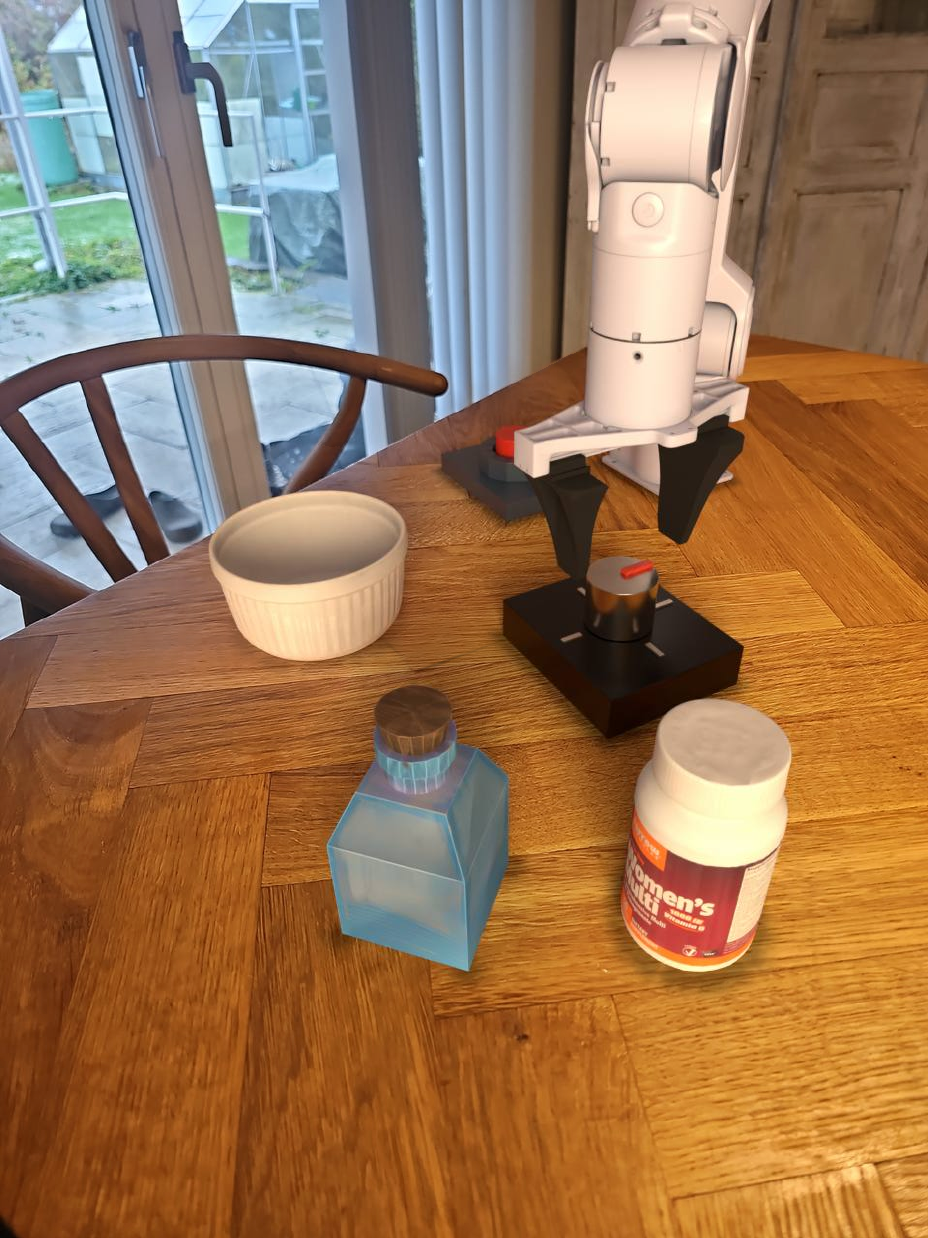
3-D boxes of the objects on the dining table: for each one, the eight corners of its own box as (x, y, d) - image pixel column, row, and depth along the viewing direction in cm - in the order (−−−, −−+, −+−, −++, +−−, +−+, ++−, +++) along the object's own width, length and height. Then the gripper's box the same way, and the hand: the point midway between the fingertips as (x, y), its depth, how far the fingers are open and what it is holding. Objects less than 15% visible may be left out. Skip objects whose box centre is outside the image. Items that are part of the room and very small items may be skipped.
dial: (611, 649, 51) (616, 597, 49) (569, 614, 55) (572, 564, 52) (668, 627, 53) (674, 576, 51) (624, 594, 56) (629, 545, 54)
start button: (488, 448, 76) (487, 430, 75) (522, 439, 77) (522, 421, 76) (508, 463, 73) (509, 444, 72) (543, 453, 75) (544, 435, 74)
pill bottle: (594, 925, 39) (612, 748, 33) (660, 843, 43) (688, 670, 37) (717, 1005, 36) (763, 825, 30) (777, 909, 40) (830, 730, 33)
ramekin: (239, 574, 66) (222, 493, 62) (409, 562, 66) (403, 481, 62) (213, 683, 55) (190, 593, 51) (417, 667, 55) (410, 577, 51)
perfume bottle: (508, 863, 42) (509, 677, 35) (468, 971, 38) (460, 781, 31) (394, 834, 44) (374, 651, 37) (342, 933, 39) (308, 745, 32)
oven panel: (502, 635, 58) (502, 597, 56) (620, 593, 62) (623, 556, 60) (607, 740, 49) (611, 698, 48) (737, 684, 53) (745, 644, 51)
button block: (441, 470, 80) (439, 435, 78) (522, 449, 83) (523, 415, 81) (507, 522, 71) (507, 484, 69) (594, 496, 75) (597, 460, 73)
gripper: (572, 375, 38) (561, 622, 46) (807, 321, 43) (761, 550, 51) (492, 335, 43) (494, 563, 51) (711, 291, 48) (683, 503, 56)
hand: (623, 553), depth 51 cm, fingers open, 7 cm apart
